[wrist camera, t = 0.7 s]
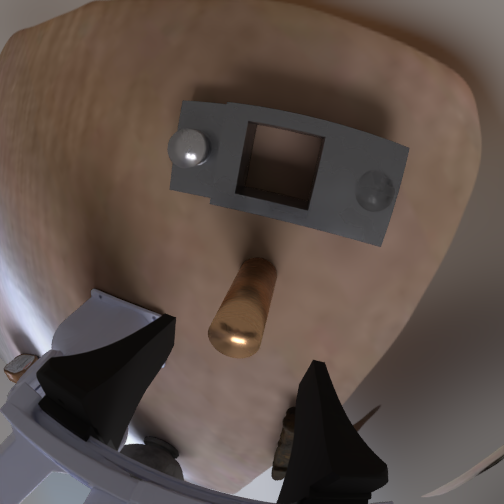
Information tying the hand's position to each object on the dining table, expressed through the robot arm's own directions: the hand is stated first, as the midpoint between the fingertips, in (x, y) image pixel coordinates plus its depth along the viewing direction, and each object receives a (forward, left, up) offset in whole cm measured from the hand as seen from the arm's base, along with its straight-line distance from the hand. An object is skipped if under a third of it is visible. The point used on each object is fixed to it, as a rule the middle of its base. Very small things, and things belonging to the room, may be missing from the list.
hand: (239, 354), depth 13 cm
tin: (-45, -37, -10) cm, 59 cm away
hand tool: (+10, -26, -10) cm, 29 cm away
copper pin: (-1, -1, -10) cm, 10 cm away
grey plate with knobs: (-1, +8, -10) cm, 13 cm away
